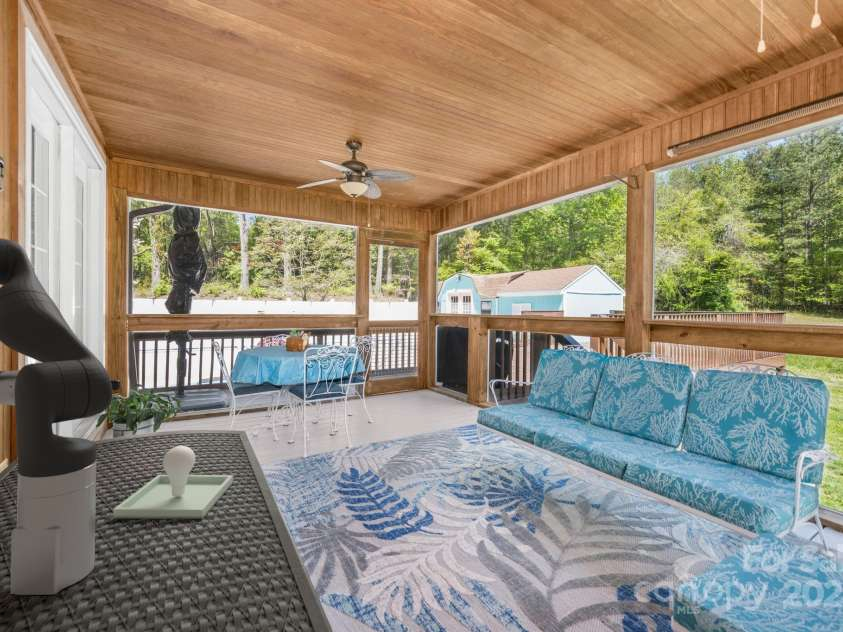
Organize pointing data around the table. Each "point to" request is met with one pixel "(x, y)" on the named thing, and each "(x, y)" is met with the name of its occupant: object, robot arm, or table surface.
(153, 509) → the parts tray
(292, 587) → the table surface
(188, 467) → the lightbulb
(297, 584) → the table surface
